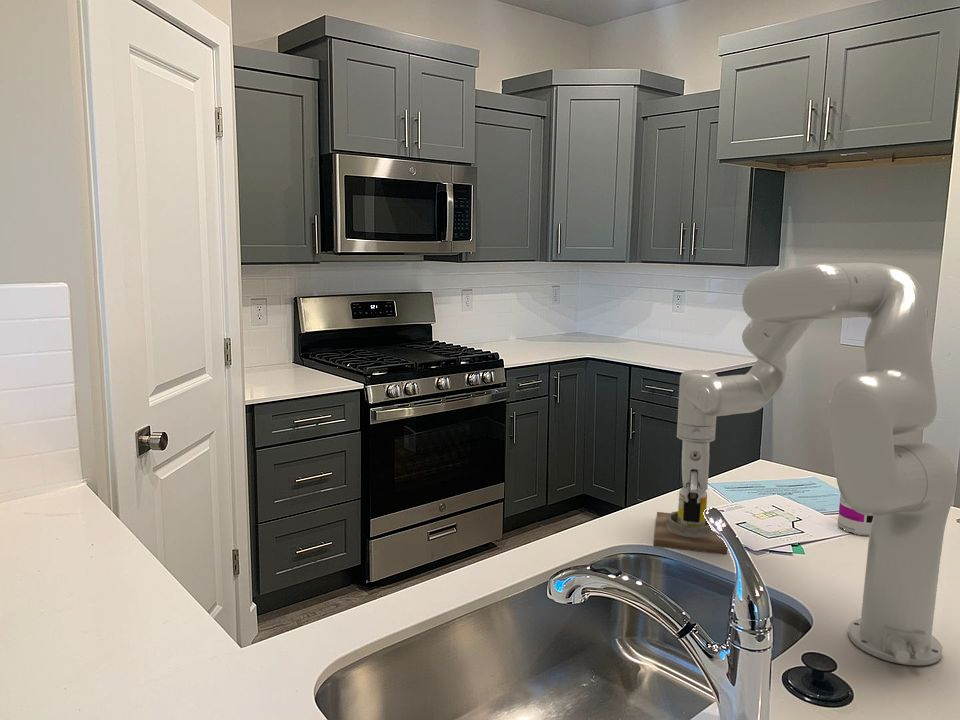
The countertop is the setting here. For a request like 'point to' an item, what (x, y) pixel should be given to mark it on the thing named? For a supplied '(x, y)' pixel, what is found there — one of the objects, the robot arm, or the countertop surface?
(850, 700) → the countertop surface
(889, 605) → the robot arm
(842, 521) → the supplement can
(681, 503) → the supplement bottle
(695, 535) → the collar board
